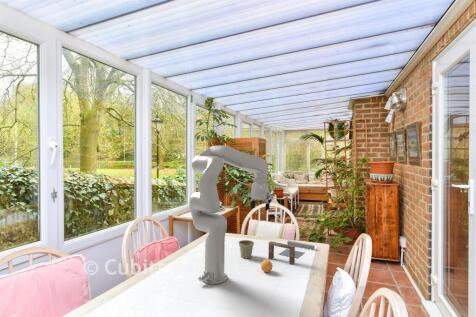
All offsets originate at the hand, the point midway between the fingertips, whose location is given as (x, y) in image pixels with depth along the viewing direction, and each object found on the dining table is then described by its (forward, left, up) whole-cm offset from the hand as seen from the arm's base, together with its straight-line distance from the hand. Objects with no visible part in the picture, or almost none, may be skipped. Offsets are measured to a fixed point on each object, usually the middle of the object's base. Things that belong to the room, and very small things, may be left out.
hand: (259, 209), depth 168 cm
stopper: (+31, -14, -28) cm, 44 cm away
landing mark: (+16, -14, -28) cm, 35 cm away
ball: (-17, -14, -25) cm, 34 cm away
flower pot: (-5, +6, -29) cm, 30 cm away
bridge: (+1, -14, -28) cm, 32 cm away
